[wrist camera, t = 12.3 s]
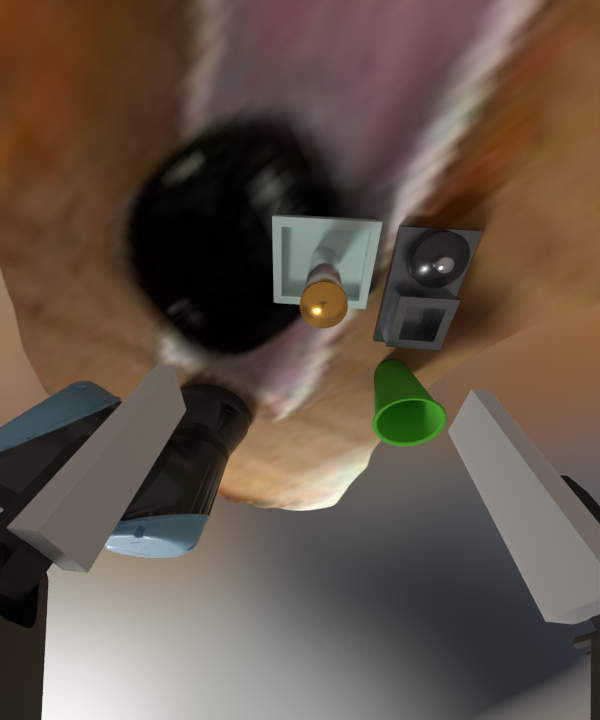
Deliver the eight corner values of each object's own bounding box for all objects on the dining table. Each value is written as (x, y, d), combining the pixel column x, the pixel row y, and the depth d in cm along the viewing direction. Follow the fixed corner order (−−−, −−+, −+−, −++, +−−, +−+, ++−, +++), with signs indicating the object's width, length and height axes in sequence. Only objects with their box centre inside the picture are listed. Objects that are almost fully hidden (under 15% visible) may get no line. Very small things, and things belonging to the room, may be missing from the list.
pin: (307, 276, 33) (298, 326, 21) (309, 244, 31) (300, 281, 19) (337, 278, 33) (344, 329, 21) (340, 246, 31) (351, 284, 19)
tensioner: (373, 337, 38) (378, 356, 34) (399, 225, 30) (411, 232, 26) (434, 342, 38) (447, 361, 34) (478, 229, 29) (503, 237, 25)
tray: (276, 295, 36) (273, 302, 34) (275, 213, 30) (272, 216, 28) (362, 301, 35) (365, 308, 33) (378, 219, 30) (382, 222, 27)
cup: (407, 338, 38) (433, 387, 29) (427, 380, 42) (456, 433, 33) (352, 364, 41) (360, 414, 32) (376, 400, 45) (389, 453, 36)
